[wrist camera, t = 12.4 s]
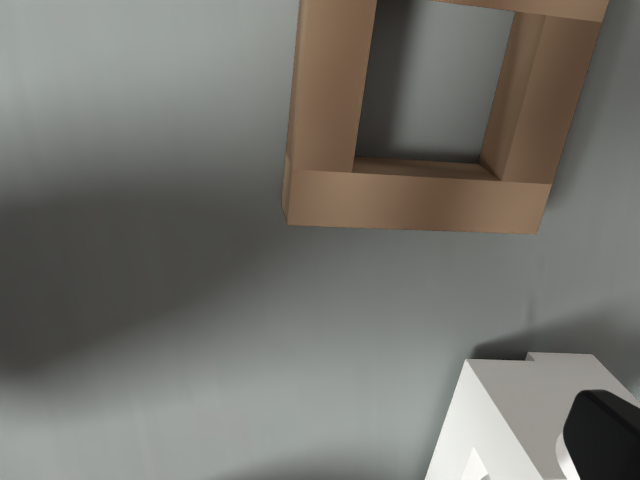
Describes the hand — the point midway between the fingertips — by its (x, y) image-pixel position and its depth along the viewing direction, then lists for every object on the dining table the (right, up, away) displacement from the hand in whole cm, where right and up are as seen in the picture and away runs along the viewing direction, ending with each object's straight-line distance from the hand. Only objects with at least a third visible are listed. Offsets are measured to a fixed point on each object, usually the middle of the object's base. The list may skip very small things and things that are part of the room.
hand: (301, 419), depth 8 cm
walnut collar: (+4, +8, +11) cm, 15 cm away
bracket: (+9, -8, +21) cm, 24 cm away
